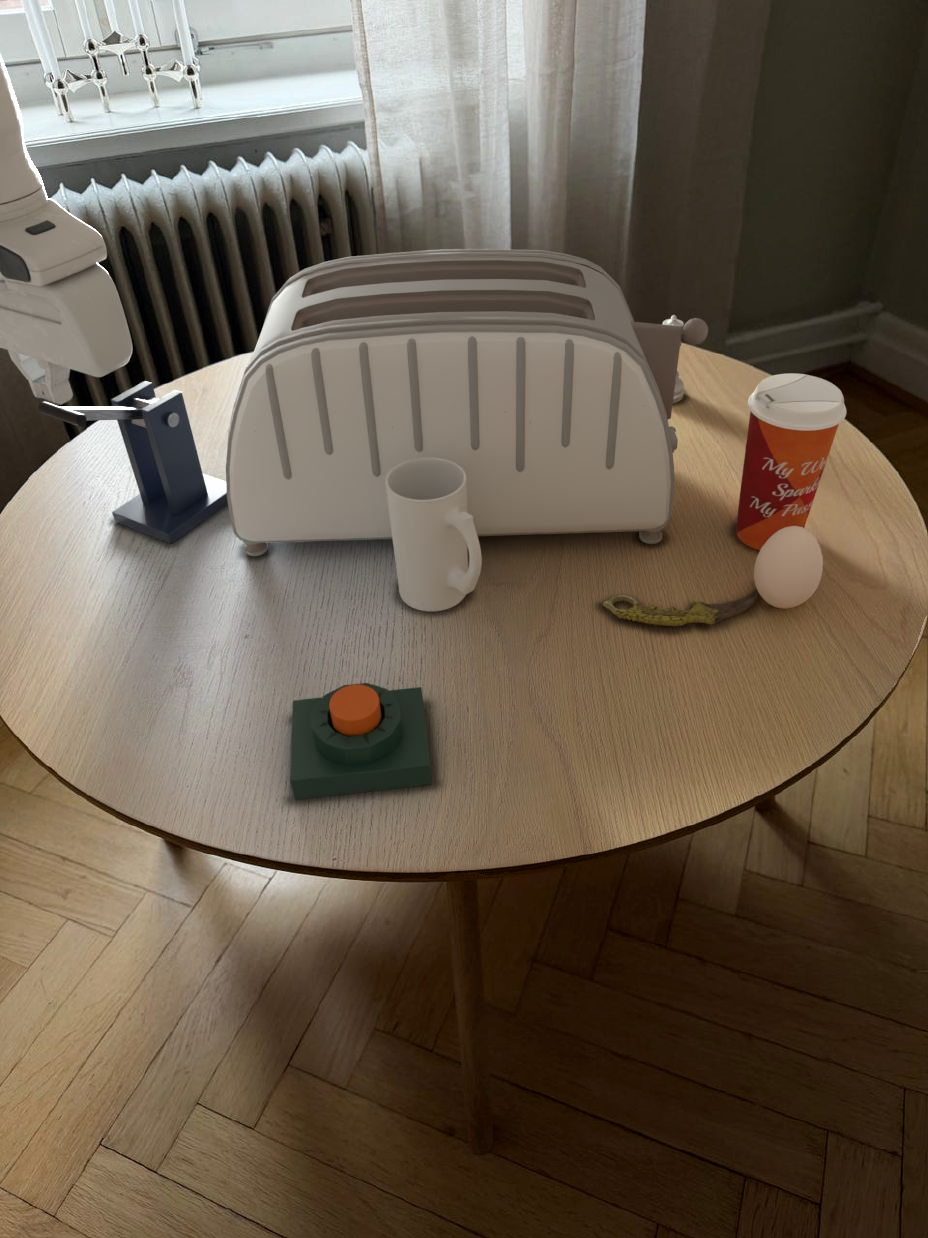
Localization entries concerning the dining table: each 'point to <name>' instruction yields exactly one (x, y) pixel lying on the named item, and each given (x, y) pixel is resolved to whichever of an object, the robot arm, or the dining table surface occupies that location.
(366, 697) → the button
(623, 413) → the toaster
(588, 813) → the dining table surface
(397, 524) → the mug
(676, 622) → the knife
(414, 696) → the button box
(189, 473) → the bracket
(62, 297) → the robot arm
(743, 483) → the coffee cup
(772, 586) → the egg
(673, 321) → the chess piece
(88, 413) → the lever
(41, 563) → the dining table surface
